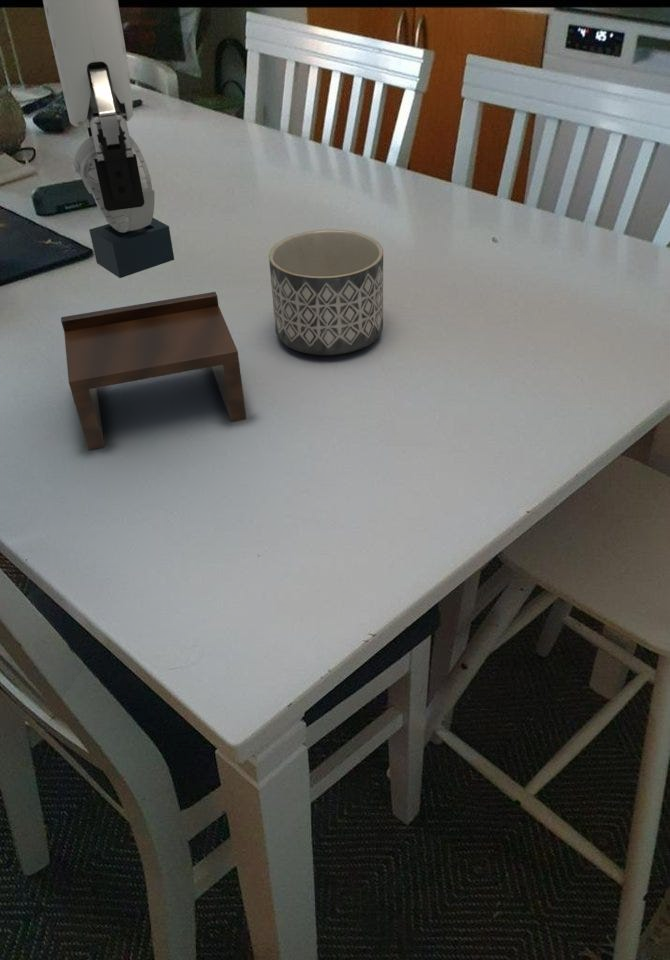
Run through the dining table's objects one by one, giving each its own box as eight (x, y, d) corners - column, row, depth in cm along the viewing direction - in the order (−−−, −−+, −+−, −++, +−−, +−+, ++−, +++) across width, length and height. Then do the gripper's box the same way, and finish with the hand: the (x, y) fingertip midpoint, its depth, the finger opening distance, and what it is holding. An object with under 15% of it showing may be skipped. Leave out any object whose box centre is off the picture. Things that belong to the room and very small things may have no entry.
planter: (375, 366, 90) (375, 280, 84) (265, 360, 92) (256, 274, 86) (388, 312, 100) (389, 231, 93) (288, 307, 102) (282, 227, 95)
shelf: (88, 450, 80) (65, 370, 74) (81, 392, 88) (60, 316, 82) (246, 418, 83) (236, 340, 77) (226, 366, 92) (215, 291, 86)
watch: (139, 239, 77) (116, 117, 70) (184, 265, 72) (164, 137, 65) (86, 256, 74) (56, 131, 67) (128, 285, 69) (101, 153, 62)
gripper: (17, -63, 64) (70, 163, 75) (16, -35, 51) (80, 233, 62) (114, -69, 65) (152, 153, 76) (136, -44, 52) (178, 220, 63)
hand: (120, 188), depth 69 cm, fingers closed on watch, 8 cm apart
